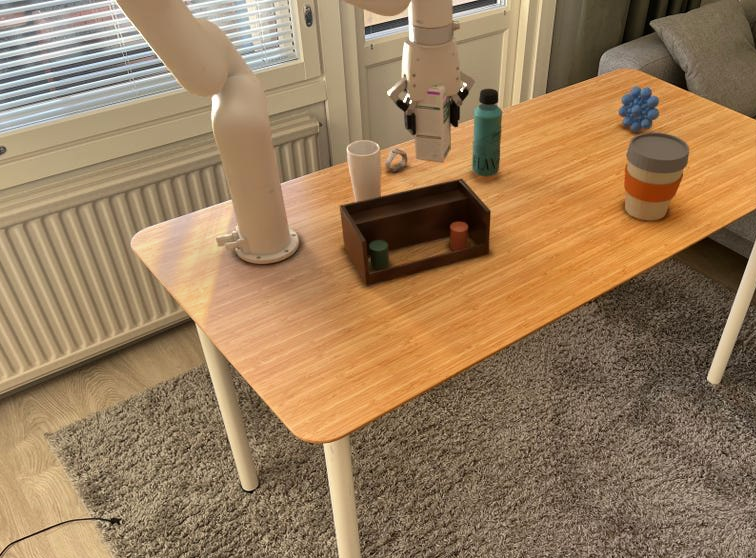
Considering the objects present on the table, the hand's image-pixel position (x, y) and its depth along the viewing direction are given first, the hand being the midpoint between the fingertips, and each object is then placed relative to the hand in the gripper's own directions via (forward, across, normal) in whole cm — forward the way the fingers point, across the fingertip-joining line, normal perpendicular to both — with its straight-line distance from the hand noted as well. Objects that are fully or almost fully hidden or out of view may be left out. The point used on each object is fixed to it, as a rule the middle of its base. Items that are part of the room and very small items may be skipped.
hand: (432, 127), depth 134 cm
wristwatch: (+22, -1, -26) cm, 34 cm away
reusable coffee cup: (+22, -46, +11) cm, 52 cm away
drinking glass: (+22, +11, -10) cm, 27 cm away
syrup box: (+6, 0, 0) cm, 6 cm away
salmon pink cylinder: (+22, -2, +9) cm, 24 cm away
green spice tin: (+22, +15, +9) cm, 28 cm away
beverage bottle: (+22, -19, -15) cm, 33 cm away
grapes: (+22, -65, -21) cm, 72 cm away
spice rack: (+22, +7, +7) cm, 24 cm away
